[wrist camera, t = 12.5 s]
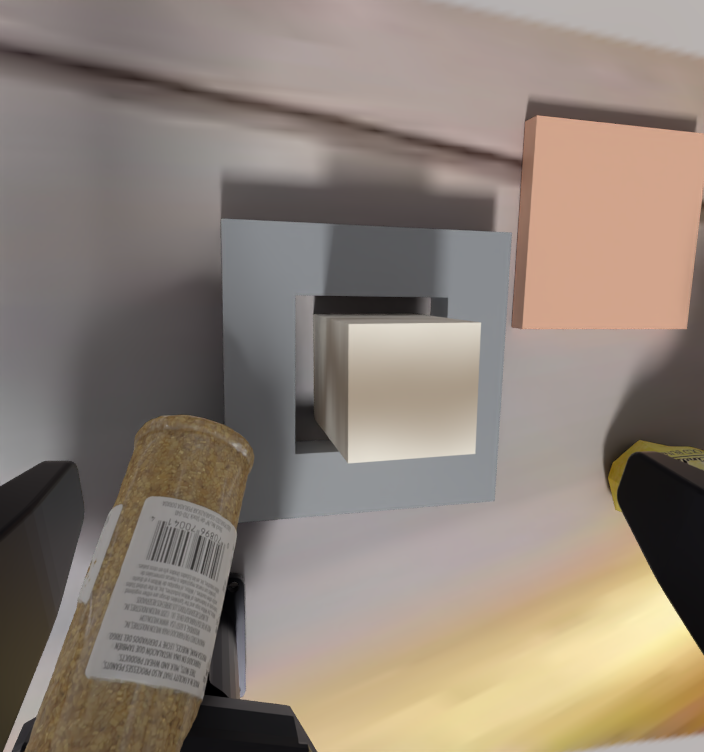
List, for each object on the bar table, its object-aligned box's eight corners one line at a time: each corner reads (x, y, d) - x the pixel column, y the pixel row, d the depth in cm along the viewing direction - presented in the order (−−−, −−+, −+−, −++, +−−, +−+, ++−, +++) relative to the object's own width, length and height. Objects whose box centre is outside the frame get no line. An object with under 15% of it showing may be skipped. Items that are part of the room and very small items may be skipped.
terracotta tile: (671, 327, 30) (686, 328, 29) (511, 327, 28) (522, 329, 27) (692, 139, 29) (709, 134, 28) (525, 121, 26) (537, 115, 25)
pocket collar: (476, 486, 29) (494, 501, 27) (226, 506, 26) (227, 523, 24) (490, 236, 27) (511, 232, 25) (220, 224, 24) (221, 218, 22)
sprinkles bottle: (114, 427, 20) (-93, 929, 12) (199, 395, 18) (20, 976, 10) (200, 479, 23) (80, 913, 15) (282, 457, 21) (196, 946, 13)
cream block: (411, 412, 27) (475, 453, 21) (313, 417, 26) (348, 463, 19) (413, 313, 26) (480, 322, 20) (313, 314, 25) (348, 324, 19)
